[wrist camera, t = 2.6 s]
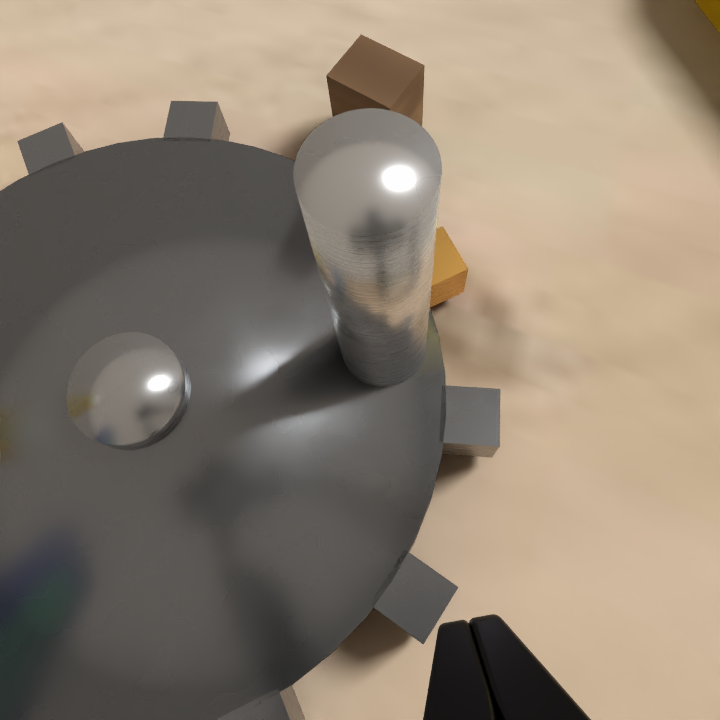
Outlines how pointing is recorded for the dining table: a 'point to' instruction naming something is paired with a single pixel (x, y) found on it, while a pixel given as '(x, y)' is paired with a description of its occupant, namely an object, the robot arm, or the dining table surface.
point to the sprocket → (219, 412)
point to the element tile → (711, 11)
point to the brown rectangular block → (376, 81)
